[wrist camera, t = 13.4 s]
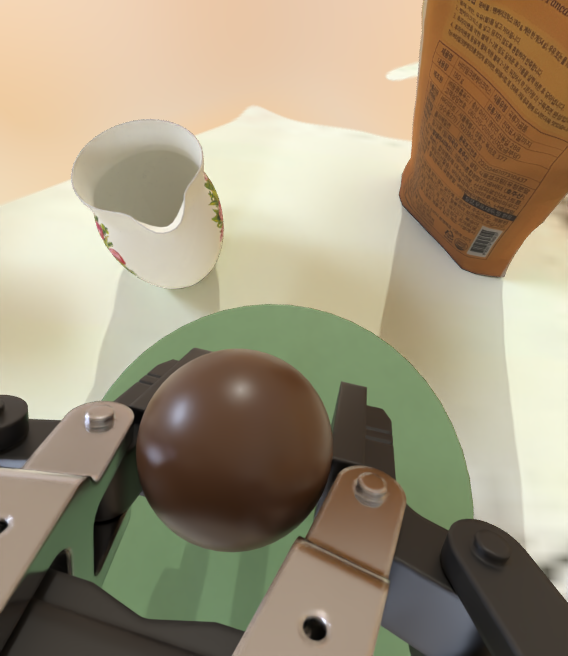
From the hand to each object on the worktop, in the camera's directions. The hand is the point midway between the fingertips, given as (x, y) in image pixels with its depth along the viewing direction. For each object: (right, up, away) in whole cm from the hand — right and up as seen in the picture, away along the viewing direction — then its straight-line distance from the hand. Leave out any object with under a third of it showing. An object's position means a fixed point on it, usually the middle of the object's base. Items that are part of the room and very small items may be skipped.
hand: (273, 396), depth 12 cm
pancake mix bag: (+17, +13, +33) cm, 39 cm away
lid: (0, -3, +3) cm, 5 cm away
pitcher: (-11, +10, +33) cm, 36 cm away
